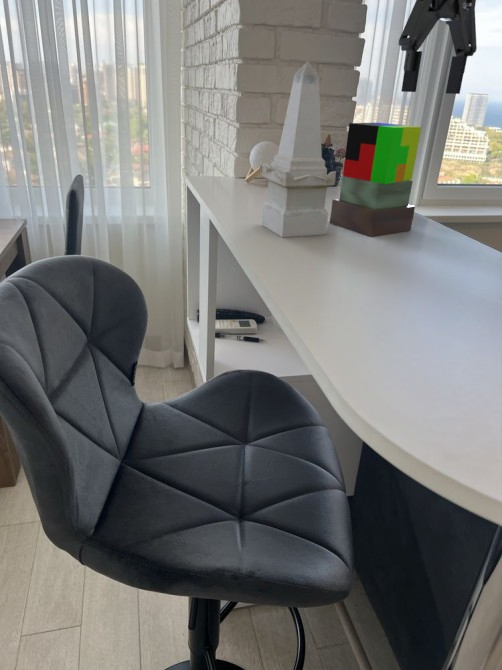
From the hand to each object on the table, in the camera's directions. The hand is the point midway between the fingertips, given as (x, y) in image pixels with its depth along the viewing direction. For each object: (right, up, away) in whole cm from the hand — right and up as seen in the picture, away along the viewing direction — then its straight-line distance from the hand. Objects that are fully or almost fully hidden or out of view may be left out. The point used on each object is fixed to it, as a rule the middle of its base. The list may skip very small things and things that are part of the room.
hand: (431, 93), depth 97 cm
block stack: (-9, -23, +11) cm, 27 cm away
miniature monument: (-26, -25, +5) cm, 37 cm away
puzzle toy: (-9, -15, +6) cm, 18 cm away
